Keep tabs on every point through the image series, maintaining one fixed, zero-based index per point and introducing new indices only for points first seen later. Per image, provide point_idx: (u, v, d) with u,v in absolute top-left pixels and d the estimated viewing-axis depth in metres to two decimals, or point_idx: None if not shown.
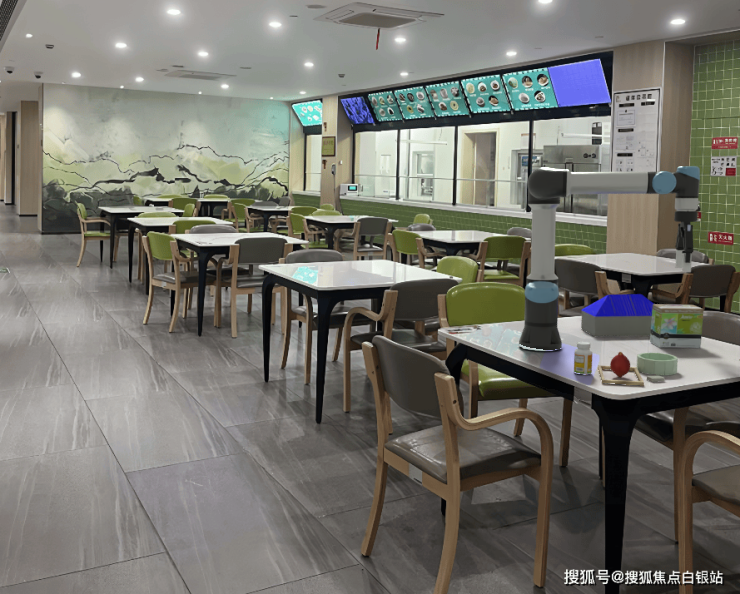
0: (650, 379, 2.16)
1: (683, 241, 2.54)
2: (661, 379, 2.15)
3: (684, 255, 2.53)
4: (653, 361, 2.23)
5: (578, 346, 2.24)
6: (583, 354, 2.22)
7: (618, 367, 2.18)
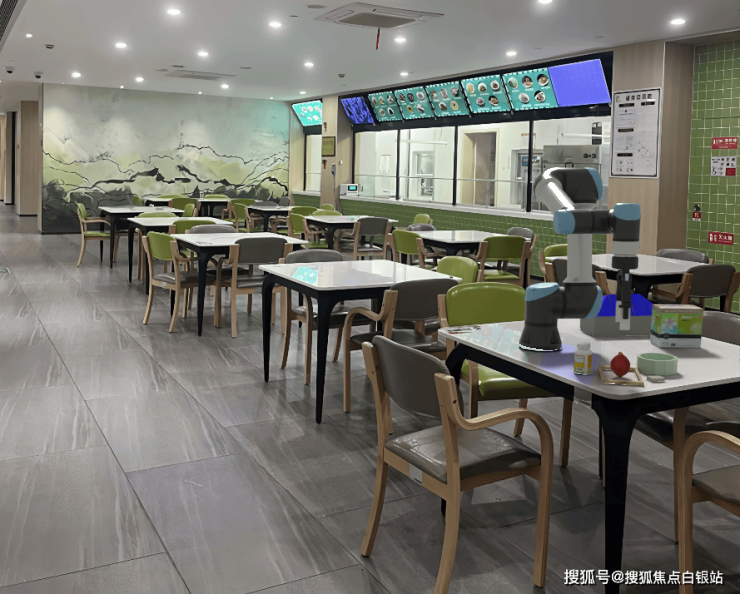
0: (650, 379, 2.16)
1: (621, 293, 2.13)
2: (661, 379, 2.15)
3: (621, 310, 2.11)
4: (653, 361, 2.23)
5: (578, 346, 2.24)
6: (583, 354, 2.22)
7: (618, 367, 2.18)
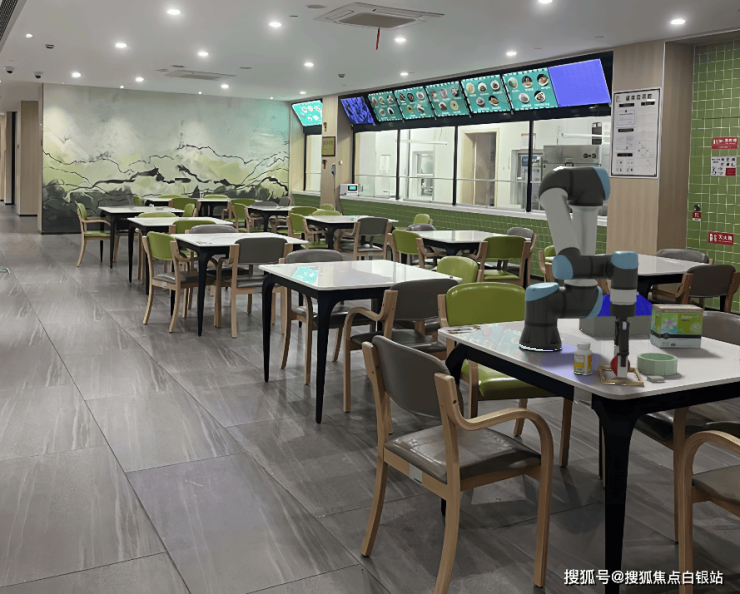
0: (650, 379, 2.16)
1: (618, 340, 2.15)
2: (661, 379, 2.15)
3: (619, 357, 2.13)
4: (653, 361, 2.23)
5: (578, 346, 2.24)
6: (583, 354, 2.22)
7: None
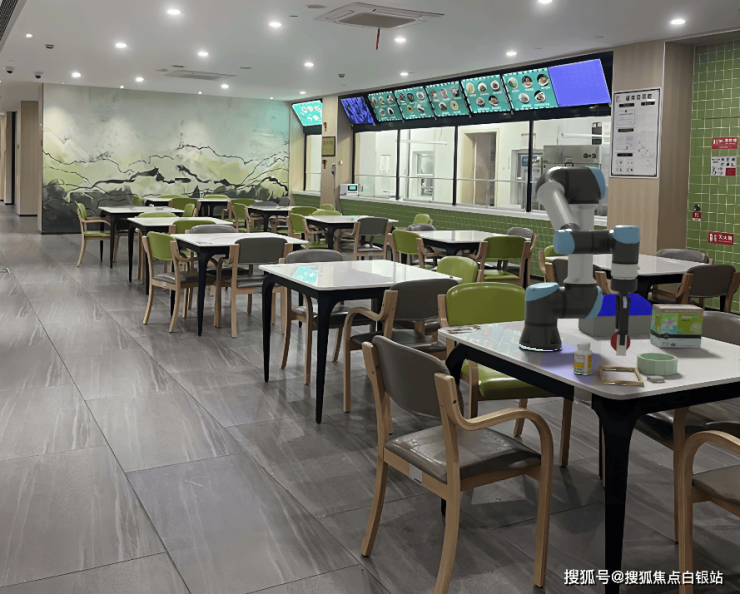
0: (650, 379, 2.16)
1: (618, 317, 2.16)
2: (661, 379, 2.15)
3: (618, 336, 2.16)
4: (653, 361, 2.23)
5: (578, 346, 2.24)
6: (583, 354, 2.22)
7: None
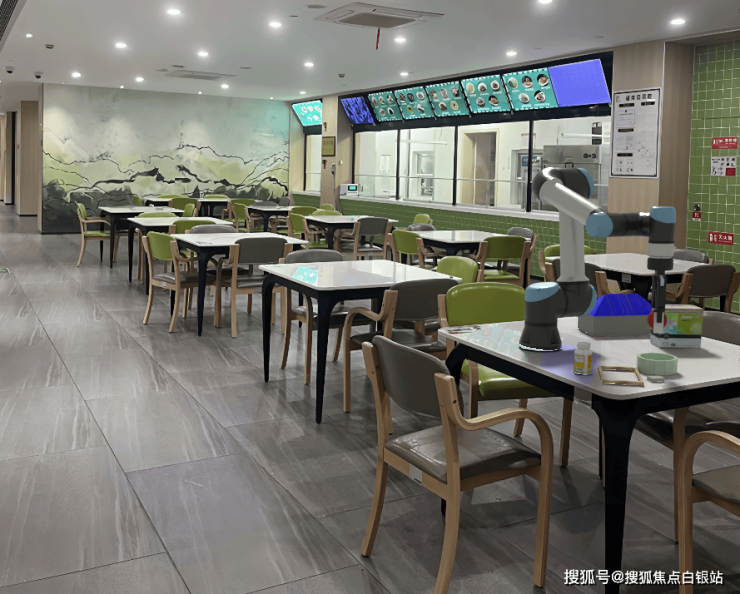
0: (649, 379, 2.16)
1: (655, 296, 2.22)
2: (661, 379, 2.15)
3: (655, 314, 2.22)
4: (653, 361, 2.23)
5: (578, 346, 2.24)
6: (583, 354, 2.22)
7: None
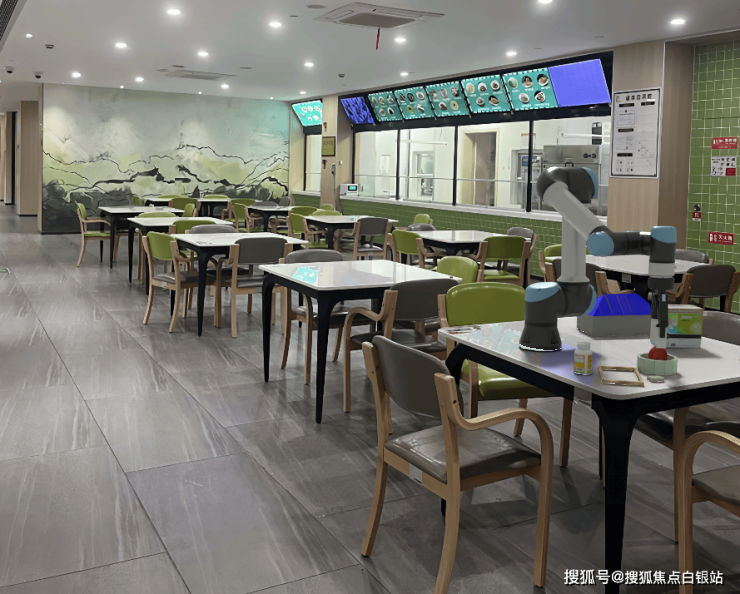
0: (649, 379, 2.16)
1: (657, 312, 2.21)
2: (661, 379, 2.15)
3: (658, 329, 2.20)
4: (653, 361, 2.23)
5: (578, 346, 2.24)
6: (583, 354, 2.22)
7: (656, 358, 2.26)
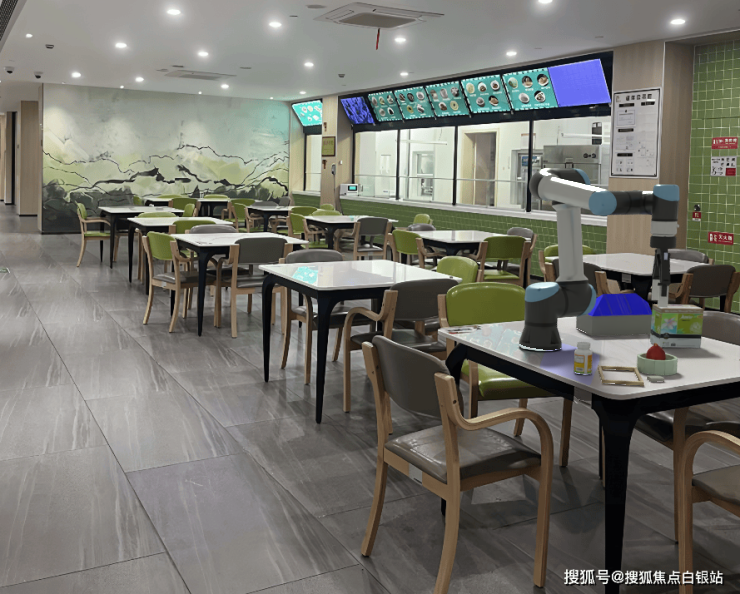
0: (649, 379, 2.16)
1: (659, 271, 2.20)
2: (661, 379, 2.15)
3: (660, 288, 2.18)
4: (653, 361, 2.23)
5: (578, 346, 2.24)
6: (583, 354, 2.22)
7: (654, 358, 2.26)
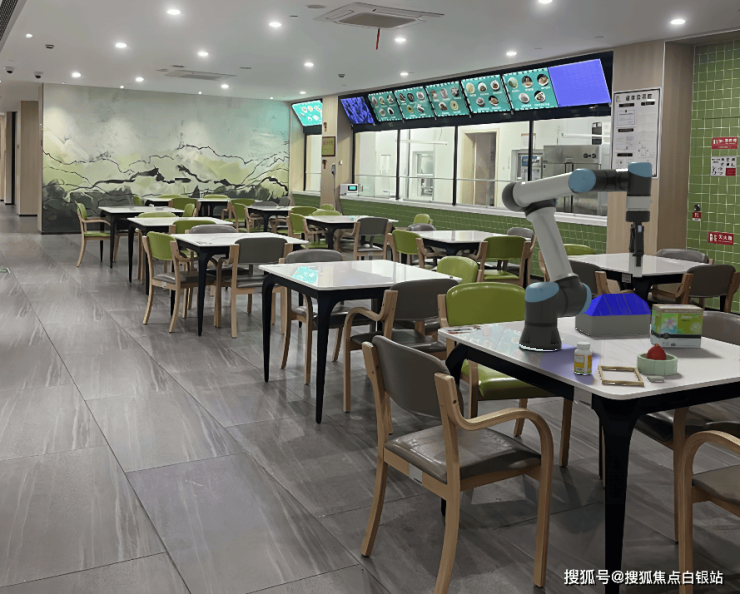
0: (649, 379, 2.16)
1: (634, 243, 2.34)
2: (660, 379, 2.15)
3: (635, 258, 2.33)
4: (653, 361, 2.23)
5: (578, 346, 2.24)
6: (583, 354, 2.22)
7: (655, 358, 2.26)
